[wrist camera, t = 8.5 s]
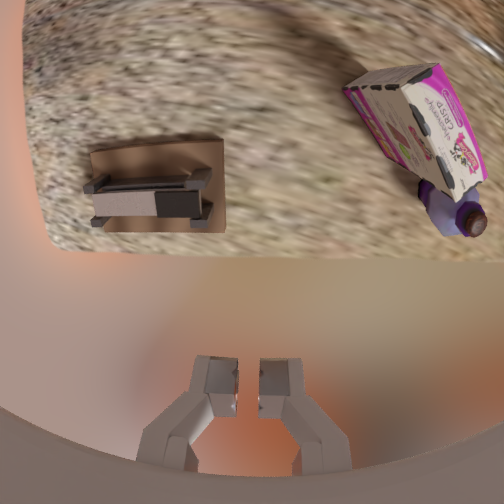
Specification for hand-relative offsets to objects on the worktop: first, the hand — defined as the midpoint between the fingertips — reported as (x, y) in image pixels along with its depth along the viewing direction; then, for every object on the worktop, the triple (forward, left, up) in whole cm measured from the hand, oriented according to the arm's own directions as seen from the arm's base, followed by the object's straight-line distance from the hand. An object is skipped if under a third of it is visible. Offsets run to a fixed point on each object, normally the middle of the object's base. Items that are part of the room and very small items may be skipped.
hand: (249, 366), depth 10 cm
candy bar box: (+6, +16, -29) cm, 34 cm away
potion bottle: (+20, +16, -29) cm, 39 cm away
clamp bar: (-8, -11, -24) cm, 27 cm away
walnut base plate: (-8, -11, -29) cm, 32 cm away
